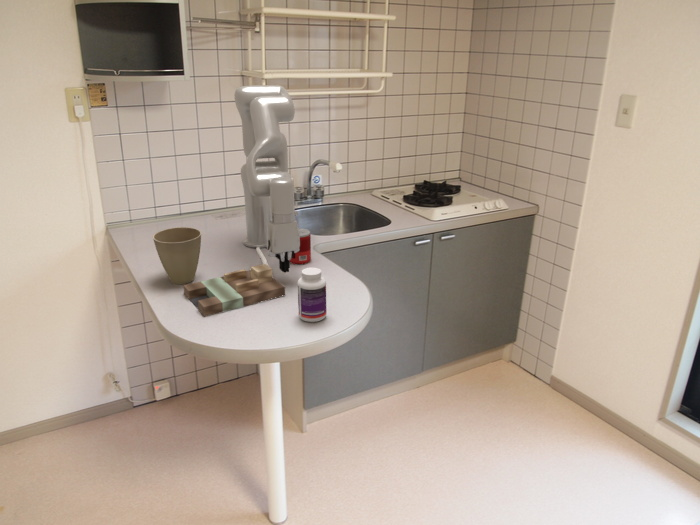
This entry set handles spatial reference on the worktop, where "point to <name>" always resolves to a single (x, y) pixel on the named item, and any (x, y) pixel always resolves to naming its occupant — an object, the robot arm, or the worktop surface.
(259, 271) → the block
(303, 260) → the canned food
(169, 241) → the plant pot
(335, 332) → the worktop surface
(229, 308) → the wooden block puzzle
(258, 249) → the white knobbed rod
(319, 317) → the pill bottle
